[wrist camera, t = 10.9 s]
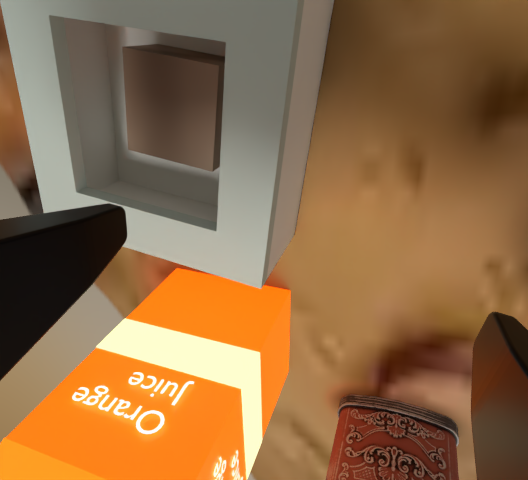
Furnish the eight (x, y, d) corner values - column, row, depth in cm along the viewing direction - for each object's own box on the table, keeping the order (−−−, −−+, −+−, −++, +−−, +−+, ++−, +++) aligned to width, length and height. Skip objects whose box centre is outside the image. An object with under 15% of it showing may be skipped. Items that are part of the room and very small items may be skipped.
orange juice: (289, 372, 30) (122, 804, 13) (186, 345, 32) (-58, 678, 16) (291, 288, 26) (63, 743, 10) (175, 265, 29) (-160, 592, 12)
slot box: (337, -19, 17) (302, -35, 12) (294, 234, 24) (261, 288, 19) (92, -45, 20) (-14, -66, 16) (114, 186, 27) (45, 222, 22)
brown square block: (244, 60, 20) (218, 65, 17) (235, 155, 22) (212, 171, 20) (157, 43, 21) (122, 46, 18) (159, 136, 24) (127, 149, 21)
